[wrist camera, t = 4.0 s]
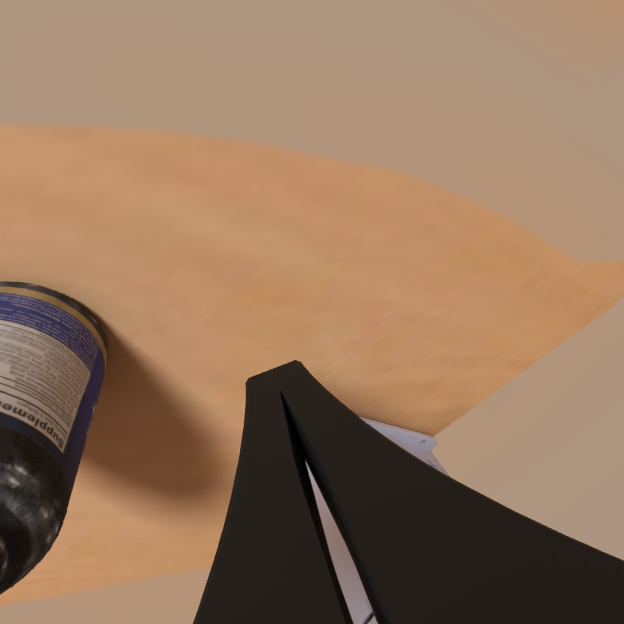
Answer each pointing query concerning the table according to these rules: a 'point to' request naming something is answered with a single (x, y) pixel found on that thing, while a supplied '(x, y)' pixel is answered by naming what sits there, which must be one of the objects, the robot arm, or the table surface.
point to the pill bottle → (42, 416)
